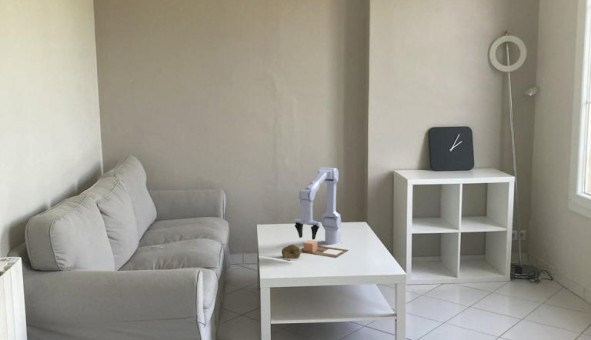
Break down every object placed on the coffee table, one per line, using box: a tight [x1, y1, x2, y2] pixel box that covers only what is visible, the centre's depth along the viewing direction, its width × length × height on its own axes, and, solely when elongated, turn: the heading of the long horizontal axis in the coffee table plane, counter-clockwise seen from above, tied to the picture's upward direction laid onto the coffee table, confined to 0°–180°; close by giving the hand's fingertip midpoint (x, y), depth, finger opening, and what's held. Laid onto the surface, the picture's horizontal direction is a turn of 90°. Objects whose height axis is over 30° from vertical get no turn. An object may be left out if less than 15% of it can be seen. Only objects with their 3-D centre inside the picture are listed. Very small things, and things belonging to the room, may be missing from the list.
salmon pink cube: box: [303, 240, 318, 252], centre depth 322 cm, size 5×5×4 cm
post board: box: [300, 245, 350, 259], centre depth 321 cm, size 16×24×4 cm, turn 60°
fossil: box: [281, 244, 302, 262], centre depth 311 cm, size 9×4×10 cm
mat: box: [323, 249, 343, 255], centre depth 318 cm, size 8×8×1 cm
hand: (307, 238), depth 311 cm, fingers open, 7 cm apart
